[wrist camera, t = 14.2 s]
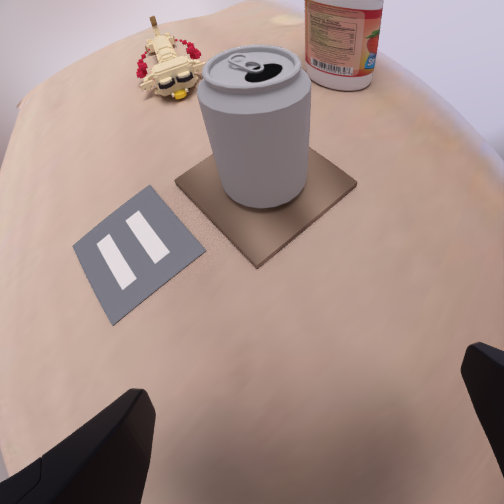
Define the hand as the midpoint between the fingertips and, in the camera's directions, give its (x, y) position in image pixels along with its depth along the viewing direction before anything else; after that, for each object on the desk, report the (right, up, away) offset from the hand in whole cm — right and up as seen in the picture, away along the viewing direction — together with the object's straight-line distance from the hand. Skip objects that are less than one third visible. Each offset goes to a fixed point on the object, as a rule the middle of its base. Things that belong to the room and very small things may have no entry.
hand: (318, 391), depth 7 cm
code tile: (-12, +4, +18) cm, 23 cm away
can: (-1, +10, +20) cm, 22 cm away
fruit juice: (+10, +28, +28) cm, 41 cm away
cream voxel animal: (-15, +32, +34) cm, 49 cm away
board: (-1, +10, +20) cm, 23 cm away
